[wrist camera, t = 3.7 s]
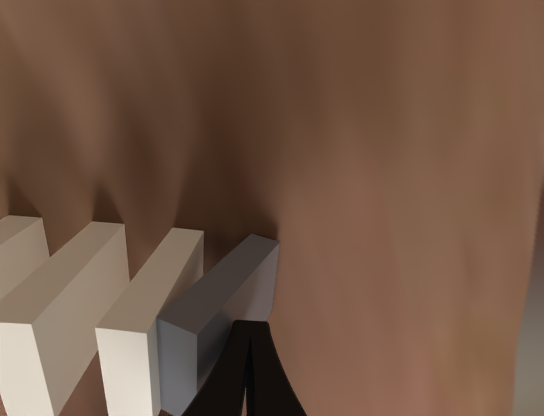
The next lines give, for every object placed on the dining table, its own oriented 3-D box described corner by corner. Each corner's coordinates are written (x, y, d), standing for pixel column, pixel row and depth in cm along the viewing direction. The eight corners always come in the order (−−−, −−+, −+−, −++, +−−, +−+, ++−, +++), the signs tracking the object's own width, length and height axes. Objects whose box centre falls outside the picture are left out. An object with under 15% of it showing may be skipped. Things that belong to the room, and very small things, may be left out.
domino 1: (280, 241, 16) (197, 335, 10) (271, 311, 18) (196, 428, 12) (251, 233, 17) (155, 317, 10) (245, 302, 18) (160, 408, 12)
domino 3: (124, 223, 16) (31, 324, 10) (130, 295, 18) (55, 420, 11) (91, 221, 16) (-24, 320, 10) (101, 293, 18) (8, 418, 11)
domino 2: (203, 230, 16) (146, 333, 10) (203, 300, 18) (153, 427, 12) (172, 227, 16) (94, 327, 10) (174, 297, 18) (109, 422, 12)
